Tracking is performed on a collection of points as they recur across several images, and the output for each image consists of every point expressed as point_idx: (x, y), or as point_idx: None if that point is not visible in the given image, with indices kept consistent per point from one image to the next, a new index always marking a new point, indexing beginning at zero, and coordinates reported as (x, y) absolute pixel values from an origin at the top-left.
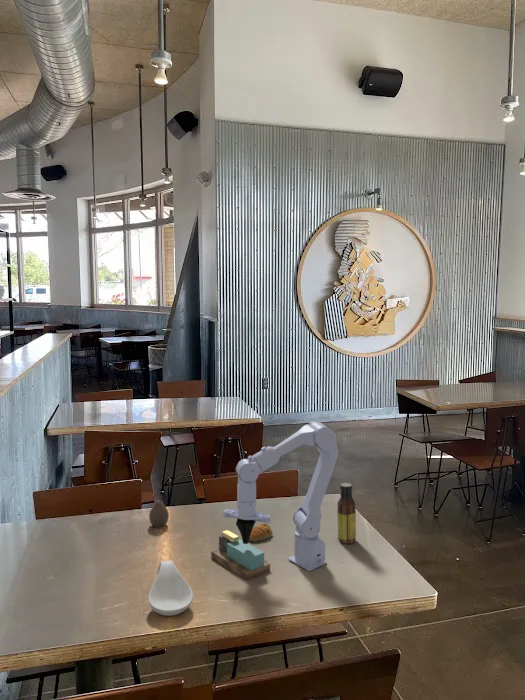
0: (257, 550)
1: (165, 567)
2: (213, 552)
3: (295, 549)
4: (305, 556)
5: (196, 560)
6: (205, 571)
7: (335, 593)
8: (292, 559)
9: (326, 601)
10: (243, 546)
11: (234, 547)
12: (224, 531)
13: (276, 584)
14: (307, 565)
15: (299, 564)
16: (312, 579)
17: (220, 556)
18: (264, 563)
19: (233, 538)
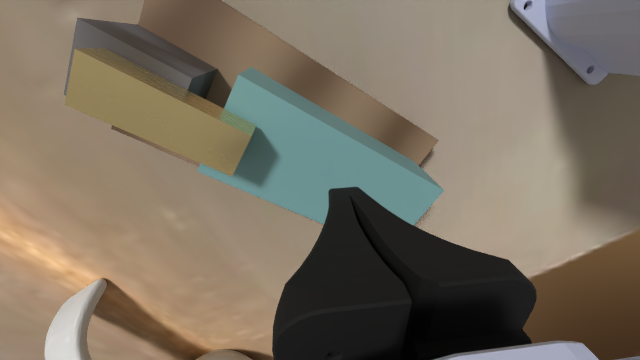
0: (405, 182)
1: None
2: (131, 136)
3: (612, 14)
4: (638, 53)
5: (91, 168)
6: (191, 224)
7: (633, 188)
8: (534, 8)
9: (592, 231)
10: (313, 169)
11: (268, 197)
12: (78, 91)
13: (455, 208)
14: (599, 60)
15: (561, 52)
16: (583, 137)
17: (193, 161)
18: (413, 147)
19: (230, 173)
